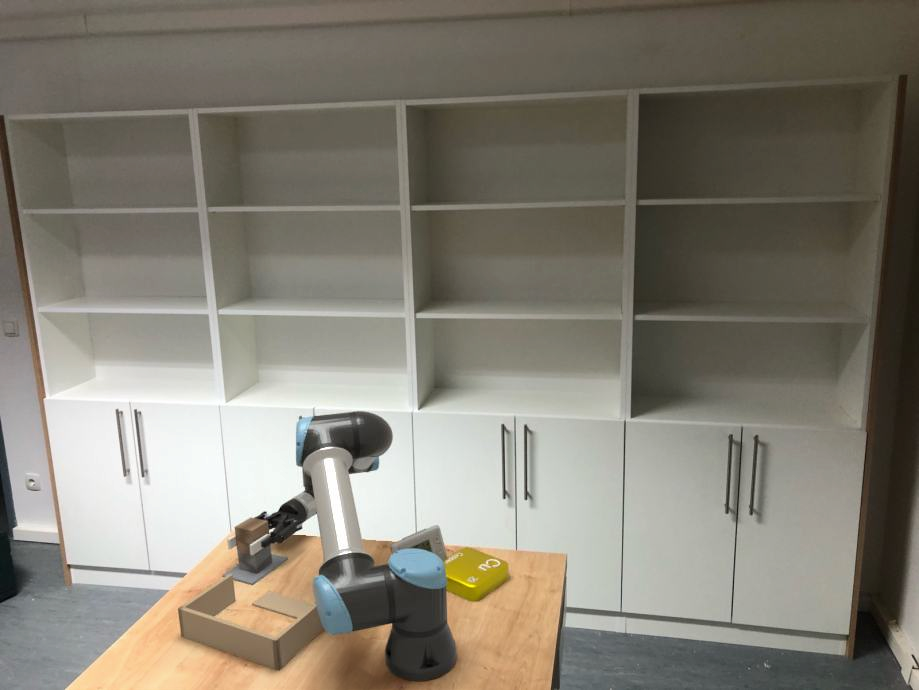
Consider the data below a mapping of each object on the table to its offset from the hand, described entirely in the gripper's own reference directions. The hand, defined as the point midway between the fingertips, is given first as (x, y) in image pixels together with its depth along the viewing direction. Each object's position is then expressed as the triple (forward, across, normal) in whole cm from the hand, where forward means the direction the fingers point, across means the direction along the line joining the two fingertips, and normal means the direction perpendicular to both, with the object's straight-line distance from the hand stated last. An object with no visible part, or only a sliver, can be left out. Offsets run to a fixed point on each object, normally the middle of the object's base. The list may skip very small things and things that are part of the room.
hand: (239, 547), depth 182 cm
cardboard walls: (+14, -19, -8) cm, 25 cm away
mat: (-5, 0, -8) cm, 10 cm away
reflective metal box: (-5, 0, -8) cm, 9 cm away
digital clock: (-20, -41, -9) cm, 47 cm away
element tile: (-23, -54, -9) cm, 60 cm away
